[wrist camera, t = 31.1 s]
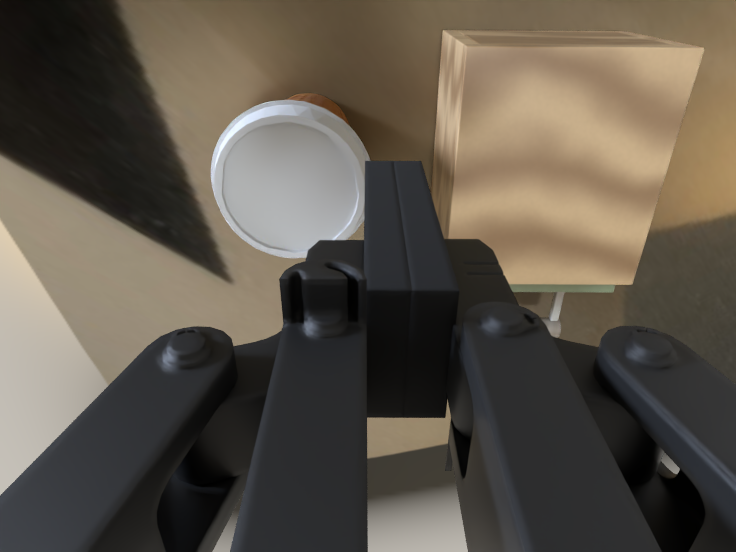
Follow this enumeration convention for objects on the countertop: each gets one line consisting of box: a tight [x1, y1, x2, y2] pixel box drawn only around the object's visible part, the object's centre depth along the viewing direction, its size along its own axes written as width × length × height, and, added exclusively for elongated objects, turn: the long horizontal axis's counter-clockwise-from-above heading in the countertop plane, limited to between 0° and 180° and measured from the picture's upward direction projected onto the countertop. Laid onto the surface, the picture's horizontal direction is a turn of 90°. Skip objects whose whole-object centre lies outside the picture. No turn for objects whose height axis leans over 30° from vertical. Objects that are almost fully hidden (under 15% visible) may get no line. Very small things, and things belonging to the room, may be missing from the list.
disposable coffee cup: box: [211, 93, 371, 258], centre depth 34 cm, size 10×10×12 cm
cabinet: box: [431, 30, 704, 285], centre depth 35 cm, size 15×13×10 cm
